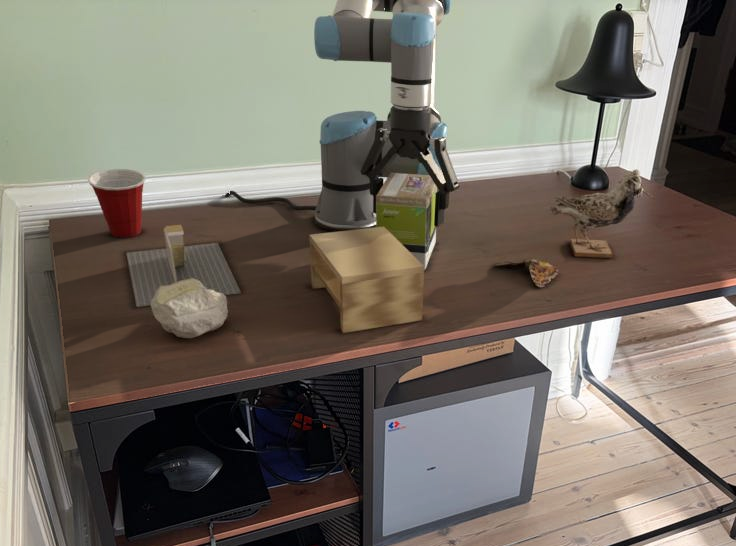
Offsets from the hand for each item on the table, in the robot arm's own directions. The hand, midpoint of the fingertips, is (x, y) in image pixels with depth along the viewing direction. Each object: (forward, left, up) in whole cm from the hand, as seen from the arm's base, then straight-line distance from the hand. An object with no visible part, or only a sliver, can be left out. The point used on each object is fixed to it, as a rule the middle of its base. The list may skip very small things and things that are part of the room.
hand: (408, 218), depth 145 cm
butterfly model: (+25, +5, -8) cm, 27 cm away
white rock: (-14, -46, -8) cm, 49 cm away
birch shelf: (+4, -23, -8) cm, 25 cm away
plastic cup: (-55, -21, -8) cm, 59 cm away
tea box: (0, 0, -8) cm, 8 cm away
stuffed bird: (+32, +23, -8) cm, 40 cm away
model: (-32, -30, -8) cm, 45 cm away
